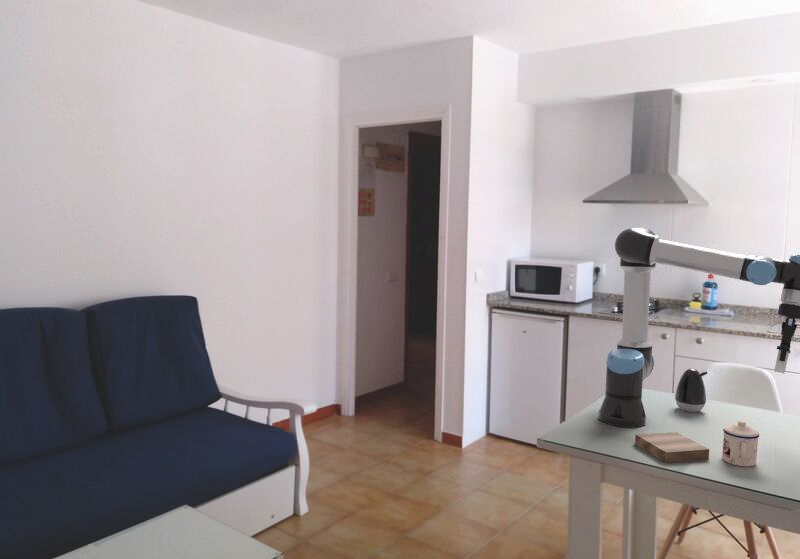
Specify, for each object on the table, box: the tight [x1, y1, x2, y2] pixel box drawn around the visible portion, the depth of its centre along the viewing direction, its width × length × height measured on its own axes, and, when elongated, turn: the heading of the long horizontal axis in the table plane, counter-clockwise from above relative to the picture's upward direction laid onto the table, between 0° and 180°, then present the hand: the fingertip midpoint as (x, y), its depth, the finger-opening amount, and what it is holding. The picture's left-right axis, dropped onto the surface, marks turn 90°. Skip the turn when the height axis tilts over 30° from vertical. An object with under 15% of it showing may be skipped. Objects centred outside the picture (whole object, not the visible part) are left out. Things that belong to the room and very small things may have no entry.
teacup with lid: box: [721, 420, 760, 468], centre depth 186 cm, size 12×9×12 cm
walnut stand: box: [634, 431, 710, 464], centre depth 194 cm, size 15×14×3 cm
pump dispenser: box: [674, 368, 708, 413], centre depth 235 cm, size 10×10×15 cm
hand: (779, 372), depth 203 cm, fingers open, 13 cm apart
